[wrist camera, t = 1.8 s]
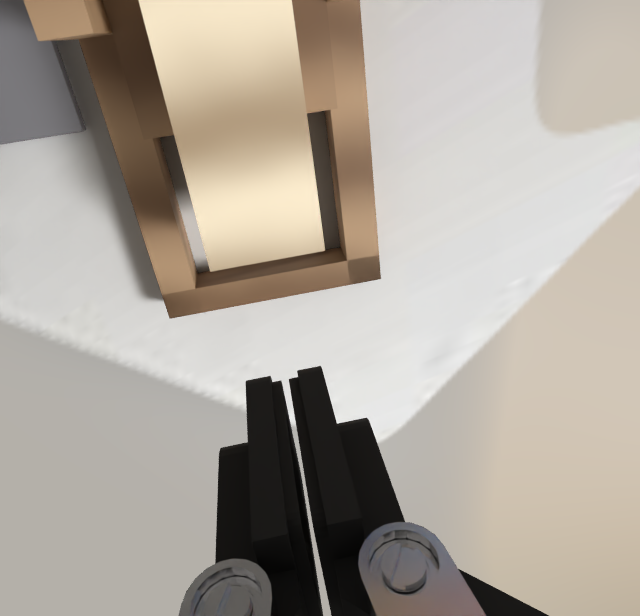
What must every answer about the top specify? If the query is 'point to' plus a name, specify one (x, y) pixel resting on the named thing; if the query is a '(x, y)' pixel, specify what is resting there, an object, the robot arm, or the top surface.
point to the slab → (239, 125)
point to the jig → (153, 122)
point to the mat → (32, 82)
